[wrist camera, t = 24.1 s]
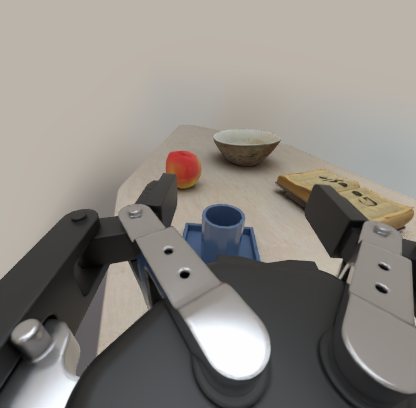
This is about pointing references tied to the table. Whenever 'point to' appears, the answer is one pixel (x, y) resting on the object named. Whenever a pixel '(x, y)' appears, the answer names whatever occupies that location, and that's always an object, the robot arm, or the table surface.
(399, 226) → the book
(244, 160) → the bowl
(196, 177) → the apple
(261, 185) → the table surface
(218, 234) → the blue cup
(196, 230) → the blue tray
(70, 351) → the robot arm
